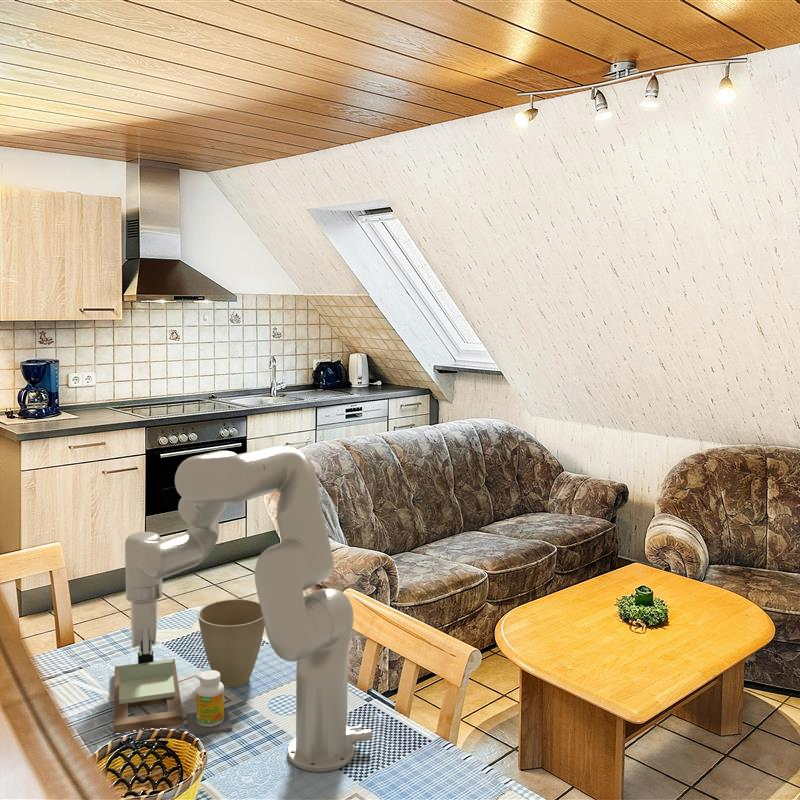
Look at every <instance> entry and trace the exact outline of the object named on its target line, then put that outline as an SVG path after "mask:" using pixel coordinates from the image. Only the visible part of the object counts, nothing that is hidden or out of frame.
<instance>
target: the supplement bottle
mask: <svg viewBox="0 0 800 800" xmlns="http://www.w3.org/2000/svg"><path fill="white" fill-rule="evenodd" d="M195 692H196V695H195V696H196V699H195V700H196V706H195V707H196V712H197V723H198V724H199V725H201V726H204V727H212V726H216V725H218V724H220V723H221V722H222V721H223V720H224V708H225V687H224V685H223V684H222V683H221V682H220V673H219V672H218V671H215V670H211V669H210V670H209V669H208V670H205V671H202V672H201V673H200V675H199V684H198V685H197V687H196V690H195Z"/></svg>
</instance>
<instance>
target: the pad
mask: <svg viewBox="0 0 800 800" xmlns="http://www.w3.org/2000/svg"><path fill="white" fill-rule="evenodd" d="M186 718H187V725H188V732H191V733H193V734H194V735H196V736H195V737H199V736H205V735H210V734H218V733H224V732H230V731H231V732H232V731H233V728H232V727H233V726H232V723H231V719H230V715H229V710H228V708H227V707H224V720H223V721H222V722H221V723H220V724H218V725H216V726H212V727H204V726H201V725H199V724H198V723H197V711H196V712H189V713H186Z"/></svg>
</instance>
